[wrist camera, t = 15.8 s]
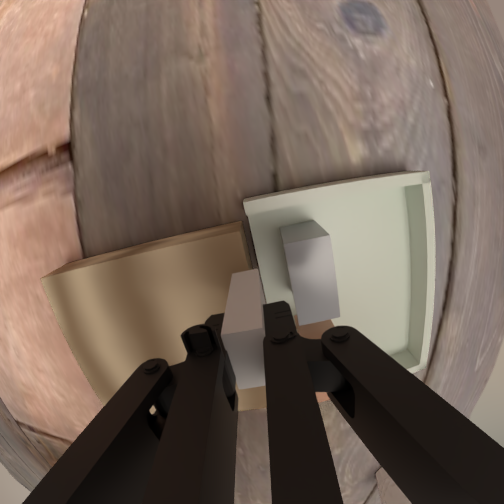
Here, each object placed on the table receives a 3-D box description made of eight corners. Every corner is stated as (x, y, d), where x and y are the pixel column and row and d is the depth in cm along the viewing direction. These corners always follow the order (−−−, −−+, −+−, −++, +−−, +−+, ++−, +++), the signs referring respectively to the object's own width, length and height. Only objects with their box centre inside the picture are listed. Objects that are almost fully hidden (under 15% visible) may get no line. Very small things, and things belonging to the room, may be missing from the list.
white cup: (383, 459, 29) (402, 508, 19) (423, 448, 29) (445, 491, 19) (364, 482, 31) (377, 527, 21) (402, 473, 31) (419, 513, 21)
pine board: (122, 389, 24) (109, 414, 20) (66, 263, 21) (40, 278, 17) (276, 374, 24) (280, 405, 20) (241, 220, 20) (239, 231, 16)
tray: (284, 385, 24) (288, 408, 21) (244, 198, 20) (243, 202, 16) (411, 349, 23) (425, 367, 20) (407, 170, 19) (429, 171, 16)
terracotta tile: (312, 403, 18) (345, 395, 18) (304, 352, 16) (343, 342, 16) (302, 364, 23) (330, 357, 22) (293, 315, 21) (325, 308, 21)
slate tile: (299, 325, 16) (340, 316, 16) (284, 244, 15) (330, 235, 14) (291, 292, 21) (324, 285, 21) (279, 227, 20) (314, 219, 19)
